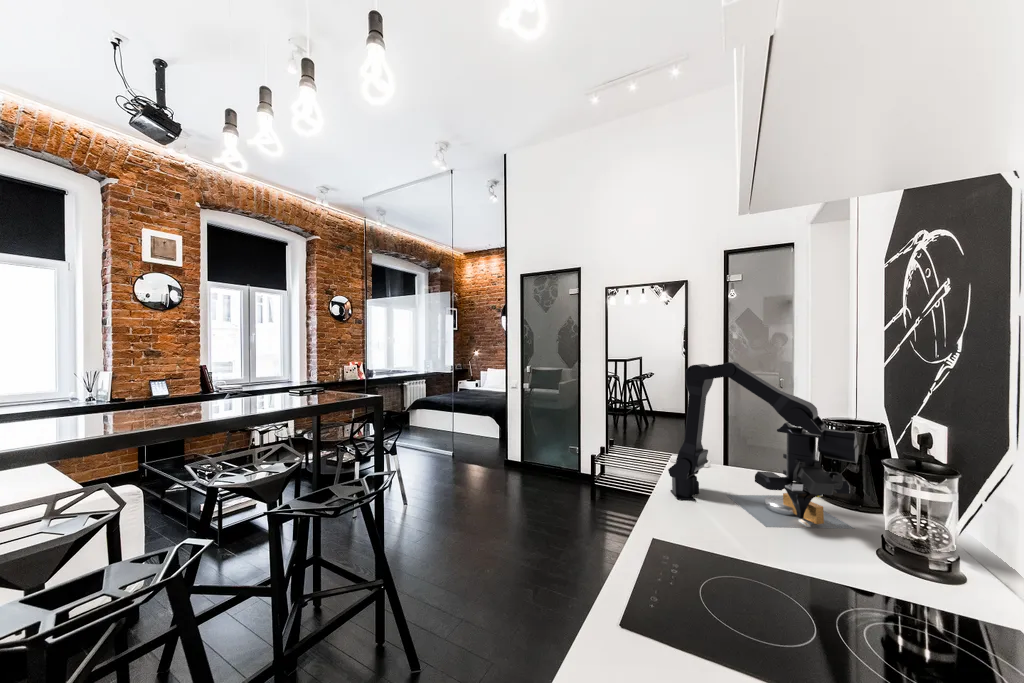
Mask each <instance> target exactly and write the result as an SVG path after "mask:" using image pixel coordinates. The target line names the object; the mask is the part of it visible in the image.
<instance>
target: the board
mask: <svg viewBox="0 0 1024 683" xmlns="http://www.w3.org/2000/svg"><path fill="white" fill-rule="evenodd" d="M768 496H781V497H783V494H782V495H778V494H777V495H776V494H774V495H772V494H771V495H769V494H768V495H767V494H765V495H764V494H761V495H760V494H756V495H755V494H726V497H727V498H729V499H730V500H732V501H733V502H734V503H735V504H737V505H738V506H739V507H740V508H741V509H742V510H745V512H746V513H748V515H751V517H752V518H754V519H755V520H756V521H758V522H759V523H760V524H762V525H763V526H764V527H765V528H784V529H785V528H789V529H790V528H791V529H792V528H795V529H803V528H804V529H856V528H855V527H853V526H852V525H850V524H848V523H846V522H844V521H843V520H841V519H840V518H837V517H836V516H834V515H832V514H831V513H830V512H828V511H826V510H824V509H823V515H824V524H815V523H813V522H811V521H809V520H806V519H804V518H799V517H798V516H786V515H781V514H777V513H774V512H772V511H770V510H768V509H767V508H766V507H765V498H766V497H768Z"/></svg>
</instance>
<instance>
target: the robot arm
mask: <svg viewBox="0 0 1024 683" xmlns="http://www.w3.org/2000/svg"><path fill="white" fill-rule="evenodd" d="M684 373H685V374H684V378H685V385H686V389H687V393H688V401H687V409H686V410H687V411H686V421H685V431H684V438H683V439H684V440H683V442H682V444H681V447H680V448H679V450H678V453H677V457H676V459H675V463H674V464H673V465H672V466H670V467H669V468H668V469H667V471H668V474H669V476H670V477H671V489H669V490H670V493H671V494H672V495H673V496H674V498H675V499H677V500H688V501H689V500H692V501H693V500H696V498H695V497H694V496H695V495H700V481H698V477H697V474H699V471H700V470H701V469H703V468H704V467H705V464H708V458H707V457H708V454H709V449H707V448H706V449H705V448H704V446H703V444H702V443H703V442H702V439H703V430H704V429H703V428H704V421H705V411H706V402H707V396H708V393H709V392H710V390H711V388H712V385H713V382H714V380H715V379H719V378H729V379H730V380H732V381H733V382H735V383H736V384H738V385H739V386H741V387H743V388H745V389H746V390H747V391H749V392H750V393H752V394H754V395H756V396H757V397H758V398H760V399H761V400H763V401H764V402H766V403H767V404H769V405H770V406H771V407H772V408H773V409H774V411H775V412H776V413H777V414H778V415H779V416H780V417H781V418H783V419H784V420H785V421H786V422H784V423H783V424H782V425H781V426H780V427H778V428H777V429H776V432H777V433H783V434H786V453H783V454H782V457H783V459H785V460H786V464H785V465H786V466H785V467H786V469H783V470H782V474H783V475H784V476H780V475H779V474H776V473H775V472H773V471H757V472H756V473H755V474H754V482H755V483H756V484H758V485H760V486H761V487H763V488H764V489H766V490H769V491H780V492H781V491H783V490H785V492H786V493H788V495H789V496H790V498H791V500H792V502H793V505H794V507H795V509H796V512H797V516H798V517H799V518H804V513H805V511H806V509H807V507H808V505H809V503H810V501H811V502H812V500H813V499H815V498H817V497H816V496H821V495H822V494H824V495H826V496H832V495H833V494H834V492H835V493H836V494H842V495H850V494H851V486H850V483H849V482H848V481H847V479H846V480H845V479H844V478H843V475H842V474H841V473H840V472H838V471H824V470H822V465H821V461H820V460H818V459H817V451H818V453H820V455H823V457H824V458H826V459H832V460H838V461H843V462H848V463H854V464H857V463H858V460H859V450H860V449H859V447H860V446H859V444H858V438H857V432H856V431H851V430H847V431H845V430H838V429H837V430H836V429H829V427H828V425H827V424H826V423H825V422H824V420H823V419H821V417H820V416H819V413H818V412H819V411H818V408H817V407H816V406H815V405H814V403H812V402H810V401H808V400H806V399H803V398H801V397H798V396H796V395H792V394H790V393H788V392H784V391H783V390H780V389H778V388H777V387H776V386H774V385H772V384H771V383H769V382H767V381H766V380H764V379H762V378H761V377H759V376H757V375H756V374H754V373H753V372H751V371H749V370H748V369H746V368H744V367H743V366H741V365H740V364H739V363H738V362H735V361H729V362H724V363H721V364H715V365H709V364H706V363H701V364H693V365H690V366H689V367H687V368H686V369H685V372H684Z"/></svg>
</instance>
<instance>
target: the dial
mask: <svg viewBox="0 0 1024 683" xmlns="http://www.w3.org/2000/svg"><path fill="white" fill-rule="evenodd" d="M782 495H783V497H781V496H768V497H766V498H765V507H766V508H767V509H768V510H770V511H772V512H774V513H777V514H781V515H786V516H797V512H796V509H795V507H794V505H793V502H792V500H791V498H790V496H789V495H788V493H787V492H784V493H782ZM823 510H824V506H823V505H820V504H818V503H816V502H813V501H812V500H811V501H810V503H809V505H808V507H807V509H806V511H805V513H804V519H806V520H809V521H811V522H813V523H815V524H824V515H823Z"/></svg>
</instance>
